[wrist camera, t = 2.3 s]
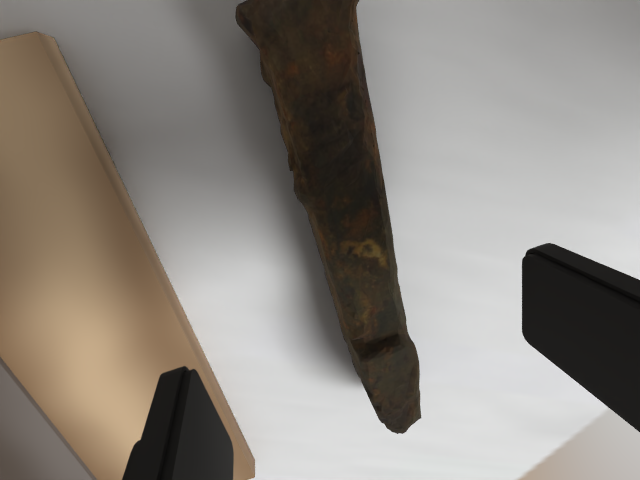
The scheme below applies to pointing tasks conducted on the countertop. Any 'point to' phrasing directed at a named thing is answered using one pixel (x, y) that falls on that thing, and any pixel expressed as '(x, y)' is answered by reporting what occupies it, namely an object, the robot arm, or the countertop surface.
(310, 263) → the countertop surface
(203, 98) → the countertop surface
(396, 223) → the countertop surface
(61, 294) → the plywood panel
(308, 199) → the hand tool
